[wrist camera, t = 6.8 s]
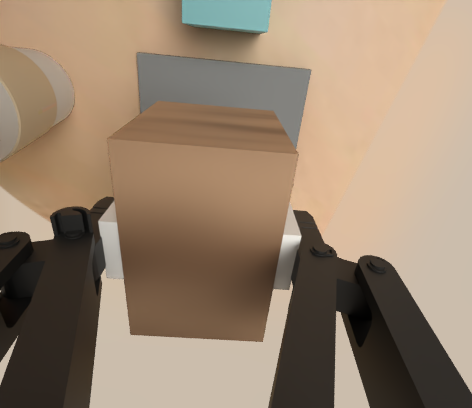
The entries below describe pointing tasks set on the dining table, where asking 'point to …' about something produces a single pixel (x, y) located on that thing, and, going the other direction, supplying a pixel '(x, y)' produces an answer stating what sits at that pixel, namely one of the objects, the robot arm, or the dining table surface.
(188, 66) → the mat
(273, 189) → the walnut brick
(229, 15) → the teal brick
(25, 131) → the coffee cup
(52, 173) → the dining table surface
